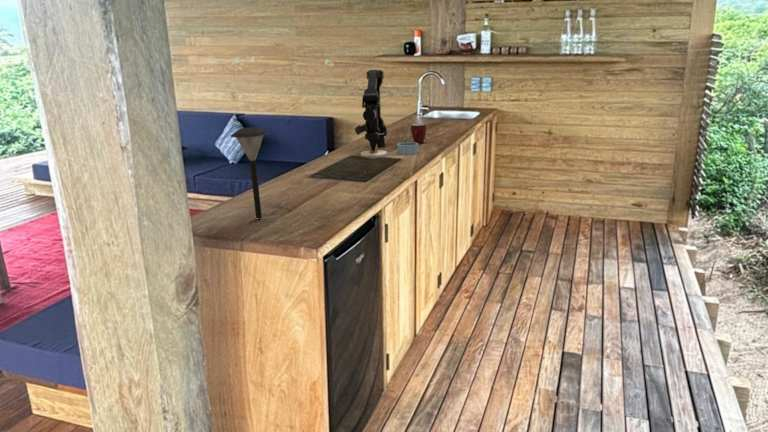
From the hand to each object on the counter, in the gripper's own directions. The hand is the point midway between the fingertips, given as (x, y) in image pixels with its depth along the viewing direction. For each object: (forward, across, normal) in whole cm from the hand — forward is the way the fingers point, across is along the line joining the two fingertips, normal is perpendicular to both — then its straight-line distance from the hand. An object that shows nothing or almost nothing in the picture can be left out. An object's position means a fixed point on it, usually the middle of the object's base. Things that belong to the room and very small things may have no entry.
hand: (373, 150), depth 295 cm
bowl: (+2, 0, +17) cm, 17 cm away
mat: (+2, 0, 0) cm, 2 cm away
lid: (+2, 0, 0) cm, 2 cm away
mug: (+3, -28, +23) cm, 36 cm away
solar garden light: (+3, +103, -32) cm, 108 cm away
